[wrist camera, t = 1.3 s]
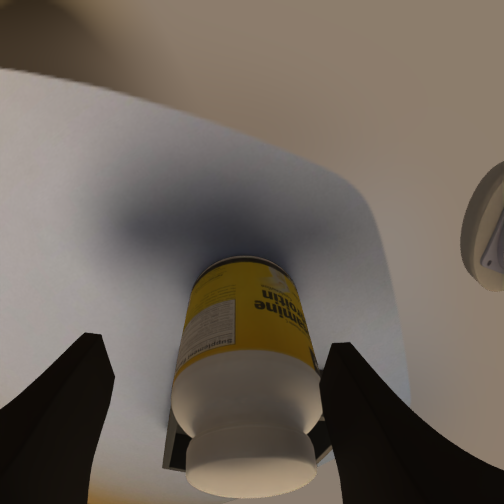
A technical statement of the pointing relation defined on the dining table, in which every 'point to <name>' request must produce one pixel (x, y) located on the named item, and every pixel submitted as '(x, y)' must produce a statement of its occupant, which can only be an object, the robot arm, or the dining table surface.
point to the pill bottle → (247, 382)
